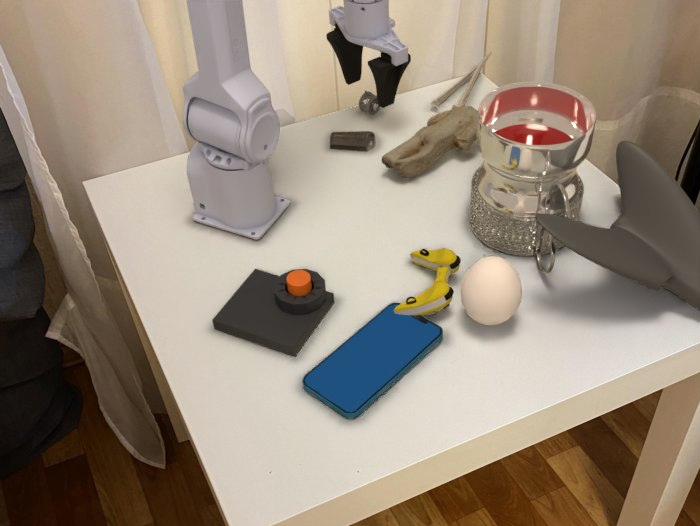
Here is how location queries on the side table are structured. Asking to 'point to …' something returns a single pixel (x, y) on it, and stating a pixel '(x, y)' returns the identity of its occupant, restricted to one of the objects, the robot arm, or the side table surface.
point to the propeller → (642, 229)
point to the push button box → (274, 311)
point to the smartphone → (371, 360)
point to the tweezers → (467, 92)
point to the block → (352, 140)
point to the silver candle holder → (529, 165)
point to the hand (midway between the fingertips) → (369, 93)
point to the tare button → (299, 283)
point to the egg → (491, 291)
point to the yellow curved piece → (440, 290)
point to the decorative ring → (369, 103)
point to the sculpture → (434, 141)
